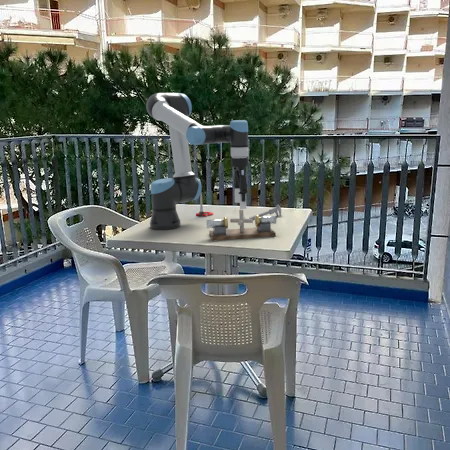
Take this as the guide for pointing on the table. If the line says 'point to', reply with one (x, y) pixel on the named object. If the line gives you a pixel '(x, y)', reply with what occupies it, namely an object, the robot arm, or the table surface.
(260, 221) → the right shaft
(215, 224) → the left shaft
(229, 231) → the board
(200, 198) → the tow hook
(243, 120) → the robot arm
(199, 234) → the table surface
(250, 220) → the pipe connector
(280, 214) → the caliper
